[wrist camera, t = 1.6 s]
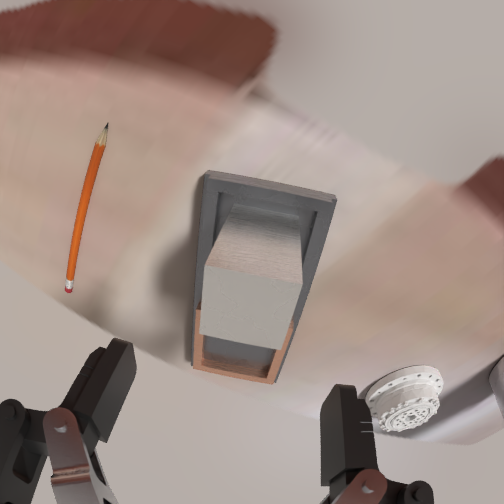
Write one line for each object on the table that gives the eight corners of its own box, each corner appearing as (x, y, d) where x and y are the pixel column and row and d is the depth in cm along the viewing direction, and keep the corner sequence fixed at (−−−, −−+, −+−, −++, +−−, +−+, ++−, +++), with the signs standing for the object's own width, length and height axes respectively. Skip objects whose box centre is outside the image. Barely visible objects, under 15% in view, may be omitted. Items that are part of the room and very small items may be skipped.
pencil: (67, 285, 29) (63, 290, 28) (107, 119, 20) (101, 120, 19) (73, 290, 29) (69, 294, 28) (115, 123, 20) (109, 124, 19)
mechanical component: (349, 392, 31) (386, 417, 34) (352, 423, 28) (390, 444, 30) (423, 350, 27) (449, 383, 30) (434, 382, 23) (458, 410, 26)
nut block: (298, 216, 21) (302, 284, 14) (285, 271, 23) (280, 350, 16) (233, 203, 21) (204, 264, 14) (226, 259, 23) (199, 333, 16)
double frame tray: (335, 194, 20) (339, 204, 19) (276, 375, 30) (275, 390, 29) (208, 169, 21) (201, 176, 19) (193, 358, 31) (188, 372, 29)
